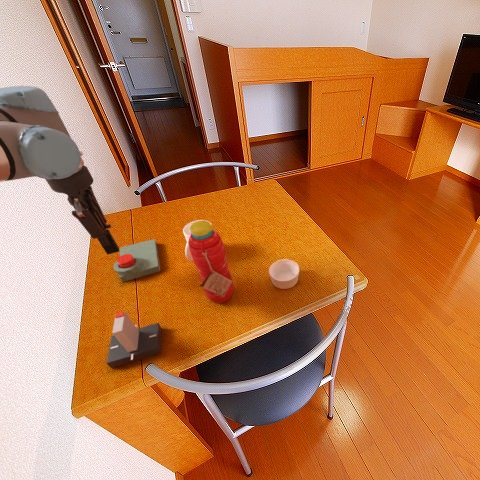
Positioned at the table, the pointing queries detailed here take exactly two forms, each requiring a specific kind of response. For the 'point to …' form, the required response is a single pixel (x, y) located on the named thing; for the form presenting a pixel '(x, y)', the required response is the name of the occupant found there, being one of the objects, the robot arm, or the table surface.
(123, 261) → the button
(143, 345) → the panel
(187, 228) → the mug
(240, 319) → the table surface
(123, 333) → the knob
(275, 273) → the ramekin
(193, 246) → the water bottle
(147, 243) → the housing
